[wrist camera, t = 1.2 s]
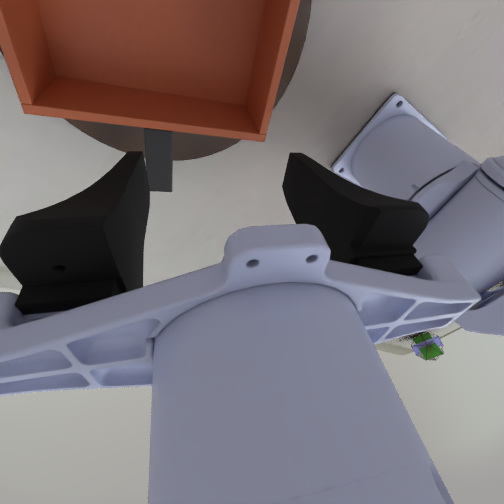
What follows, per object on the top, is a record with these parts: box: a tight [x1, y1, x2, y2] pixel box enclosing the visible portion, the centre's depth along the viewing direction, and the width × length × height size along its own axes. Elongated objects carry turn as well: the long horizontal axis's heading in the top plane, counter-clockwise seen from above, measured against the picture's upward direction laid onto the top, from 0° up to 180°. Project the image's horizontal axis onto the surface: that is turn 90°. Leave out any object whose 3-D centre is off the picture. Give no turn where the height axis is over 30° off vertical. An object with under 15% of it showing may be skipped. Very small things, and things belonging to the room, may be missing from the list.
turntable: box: [0, 0, 311, 160], centre depth 17 cm, size 19×19×1 cm
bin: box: [0, 0, 300, 192], centre depth 16 cm, size 13×13×5 cm
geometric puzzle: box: [411, 332, 444, 360], centre depth 70 cm, size 7×7×8 cm
